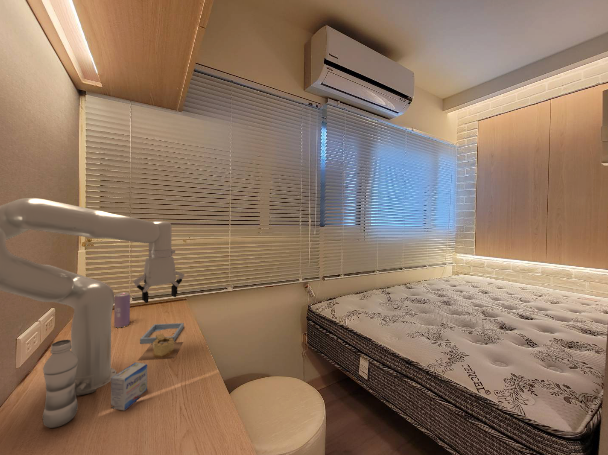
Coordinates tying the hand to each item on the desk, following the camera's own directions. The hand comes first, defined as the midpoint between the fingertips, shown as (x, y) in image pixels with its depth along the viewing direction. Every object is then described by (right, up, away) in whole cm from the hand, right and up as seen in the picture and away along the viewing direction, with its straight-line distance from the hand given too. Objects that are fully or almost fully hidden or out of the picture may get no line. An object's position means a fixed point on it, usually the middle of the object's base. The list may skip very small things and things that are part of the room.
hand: (160, 299), depth 98 cm
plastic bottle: (-7, -22, -33) cm, 40 cm away
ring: (0, -20, +1) cm, 20 cm away
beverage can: (-32, -20, +24) cm, 44 cm away
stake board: (0, -21, +1) cm, 21 cm away
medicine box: (+5, -22, -25) cm, 33 cm away
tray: (-6, -20, +14) cm, 25 cm away
